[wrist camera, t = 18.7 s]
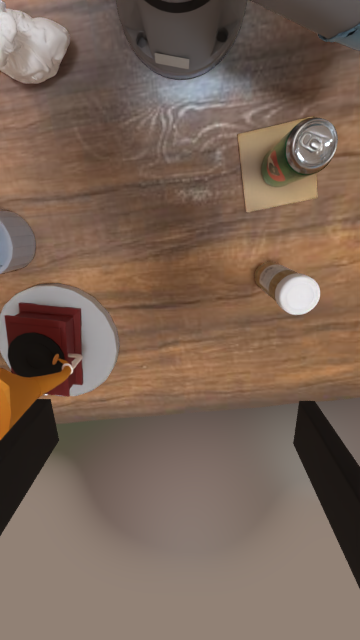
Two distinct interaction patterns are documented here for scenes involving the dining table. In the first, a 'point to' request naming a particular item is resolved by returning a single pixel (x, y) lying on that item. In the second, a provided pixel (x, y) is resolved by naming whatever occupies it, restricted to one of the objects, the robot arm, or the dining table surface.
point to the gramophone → (52, 347)
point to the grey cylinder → (15, 242)
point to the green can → (300, 152)
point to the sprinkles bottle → (288, 287)
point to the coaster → (254, 185)
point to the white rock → (30, 46)
